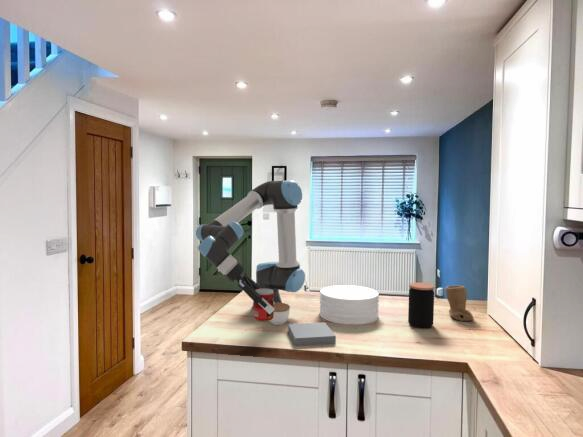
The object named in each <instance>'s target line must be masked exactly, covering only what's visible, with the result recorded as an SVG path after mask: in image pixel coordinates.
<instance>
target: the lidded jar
mask: <svg viewBox="0 0 583 437" xmlns="http://www.w3.org/2000/svg"><path fill="white" fill-rule="evenodd" d="M290 308H291V307H290V305H289V304H288V303H285V302H282V303H279V302H277V303H275V304H274V309H275V310H274V317H273V319H271V320H268V322H269V323H270V324H271V325H274V326H280V325H281V326H282V325H284V324H285V323H286V322H287V321H288V319H289V316H290V312H291V311H290Z"/></svg>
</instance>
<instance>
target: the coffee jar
mask: <svg viewBox="0 0 583 437" xmlns="http://www.w3.org/2000/svg"><path fill="white" fill-rule="evenodd" d="M408 286H409V289H408V310H407V311H408V313H407V314H408V316H407V318H408V320H407V322H408V324H409V325H410V326H411V327H413V328H417V329H431V328H432V327H433V325H434V315H435V314H434V313H435V312H434V311H435V310H434V309H435V291H434V290H435V285H433V284H430V283H426V282H410V283H409V285H408Z"/></svg>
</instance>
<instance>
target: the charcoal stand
mask: <svg viewBox="0 0 583 437" xmlns="http://www.w3.org/2000/svg"><path fill="white" fill-rule="evenodd" d="M287 328H288V330H287V331H288V334H289V336H290V338H291V339H292V342H293V344H294V347H298V346H299V347H300V346H303V347H304V346H317V345H319V346H320V345H333V344H334V345H335V344H336V342H337V340H336V339H337V337H336V336H337V335H336V334H335V333H334V332H333V330H332V329H331V328H330V327H329V325H327V323H326V321H324V322H303V323H289V324H288V327H287Z"/></svg>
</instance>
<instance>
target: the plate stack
mask: <svg viewBox="0 0 583 437" xmlns="http://www.w3.org/2000/svg"><path fill="white" fill-rule="evenodd" d="M319 294H320V296H319V315H320V317H321V318H323V319H324V320H326V321H329V322H332V323H336V324H341V325H366V324H371V323H375V322H376V321H377V320H378V319H379V306H380V305H379V296H380V293H379V292H378V291H377V290H376V289H373V288H372V287H371V288H370V287H366V286H362V285H361V286H360V285H353V284H350V285H349V284H339V285H338V284H337V285H330V286H329V285H328V286H325V287H322V288H321V289H320V291H319Z"/></svg>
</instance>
